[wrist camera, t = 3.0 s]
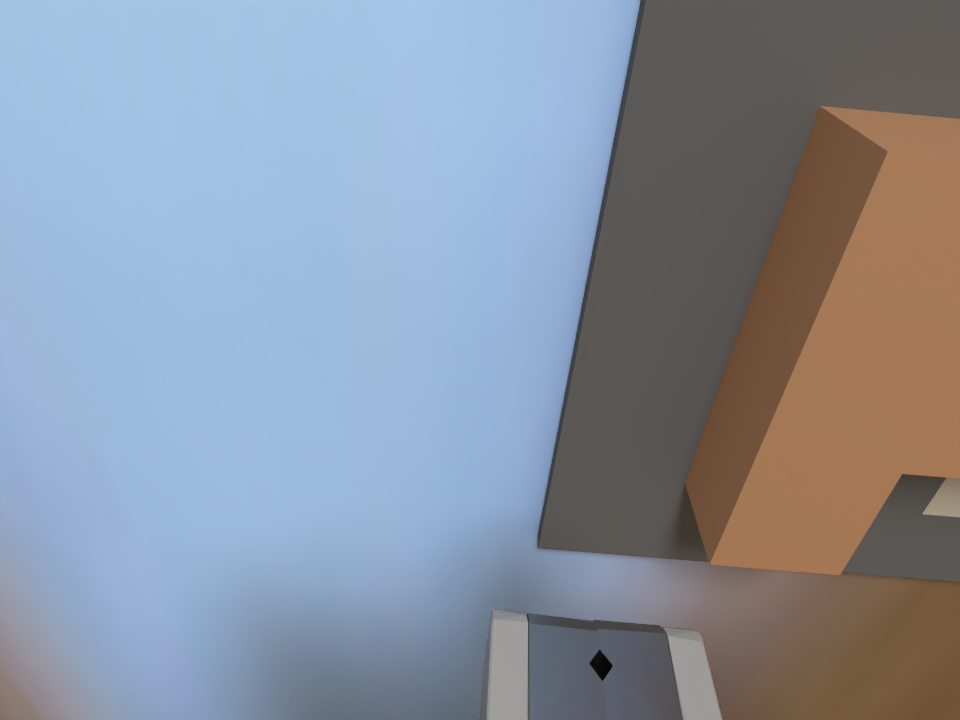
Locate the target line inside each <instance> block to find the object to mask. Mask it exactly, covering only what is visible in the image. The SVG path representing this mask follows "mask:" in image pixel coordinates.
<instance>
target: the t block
mask: <svg viewBox="0 0 960 720" xmlns="http://www.w3.org/2000/svg"><path fill="white" fill-rule="evenodd" d="M902 474H909V475H921V476H934V477H946V478H958V479H960V119H955V118H944V117H933V116H923V115H912V114H901V113H890V112H879V111H868V110H857V109H846V108H835V107H825V106H820V108H819V111H818V114H817V116H816V119H815V122H814V125H813V128H812V130H811V133H810V136H809V139H808V141H807V144H806V147H805V150H804V153H803V155H802V158H801V161H800V164H799V167H798V169H797V172H796V175H795V178H794V180H793V183H792V186H791V189H790V192H789V194H788V197H787V200H786V203H785V206H784V208H783V211H782V214H781V217H780V219H779V222H778V225H777V228H776V231H775V233H774V236H773V239H772V242H771V245H770V247H769V250H768V253H767V256H766V258H765V261H764V264H763V267H762V270H761V272H760V275H759V278H758V281H757V284H756V286H755V289H754V292H753V295H752V297H751V300H750V303H749V306H748V309H747V311H746V314H745V317H744V320H743V323H742V325H741V328H740V331H739V334H738V336H737V339H736V342H735V345H734V348H733V350H732V353H731V356H730V359H729V362H728V364H727V367H726V370H725V373H724V376H723V378H722V381H721V384H720V387H719V389H718V392H717V395H716V398H715V401H714V403H713V406H712V409H711V412H710V415H709V417H708V420H707V423H706V426H705V428H704V431H703V434H702V437H701V440H700V442H699V445H698V448H697V451H696V454H695V456H694V459H693V462H692V465H691V467H690V470H689V473H688V476H687V479H686V481H685V485H686V488H687V491H688V495H689V498H690V501H691V505H692V508H693V511H694V515H695V518H696V521H697V525H698V528H699V531H700V535H701V538H702V541H703V545H704V548H705V551H706V554H707V558H708V561H709V564H710V565H719V566H732V567H744V568H757V569H769V570H782V571H794V572H806V573H819V574H831V575H840V574H841V573H842V571H843V569H844V568H845V566H846V565H847V563H848V561H849V560H850V558H851V556H852V555H853V553H854V552H855V550H856V548H857V547H858V545H859V543H860V542H861V540H862V539H863V537H864V535H865V534H866V532H867V530H868V529H869V527H870V526H871V524H872V522H873V521H874V519H875V517H876V516H877V514H878V513H879V511H880V509H881V508H882V506H883V504H884V503H885V501H886V500H887V498H888V496H889V495H890V493H891V491H892V490H893V488H894V487H895V485H896V483H897V482H898V480H899V478H900V477H901V475H902Z"/></svg>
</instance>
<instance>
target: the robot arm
mask: <svg viewBox="0 0 960 720" xmlns="http://www.w3.org/2000/svg"><path fill="white" fill-rule="evenodd" d="M480 720H723V719H722V715H721V711H720V707H719V703H718V699H717V695H716V691H715V687H714V683H713V679H712V675H711V670H710V666H709V662H708V658H707V654H706V650H705V646H704V642H703V638H702V637H701V635H700V634H699V632H698V631H696V630H692V629H680V628H668V627H660V626H659V625H647V624H635V623H623V622H612V621H600V620H593V621H590V620H581V619H572V618H564V617H555V616H547V615H538V614H529V613H528V614H527V613H524V612H514V611H504V610H494V609H493V610H492V612H491V619H490V626H489V632H488V639H487V646H486V653H485V662H484V671H483V680H482V692H481V708H480Z"/></svg>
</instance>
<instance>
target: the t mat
mask: <svg viewBox="0 0 960 720" xmlns="http://www.w3.org/2000/svg"><path fill="white" fill-rule="evenodd" d="M820 106H825V107H835V108H846V109H857V110H868V111H879V112H890V113H901V114H912V115H923V116H933V117H944V118H955V119H960V0H641V4H640V9H639V15H638V20H637V25H636V30H635V35H634V40H633V46H632V51H631V56H630V61H629V66H628V71H627V77H626V82H625V87H624V92H623V97H622V103H621V108H620V113H619V118H618V123H617V128H616V134H615V139H614V144H613V149H612V154H611V160H610V165H609V170H608V175H607V180H606V185H605V191H604V196H603V201H602V206H601V211H600V217H599V222H598V227H597V232H596V237H595V242H594V248H593V253H592V258H591V263H590V268H589V273H588V279H587V284H586V289H585V294H584V299H583V305H582V310H581V315H580V320H579V325H578V330H577V336H576V341H575V346H574V351H573V356H572V362H571V367H570V372H569V377H568V382H567V387H566V393H565V398H564V403H563V408H562V413H561V419H560V424H559V429H558V434H557V439H556V444H555V450H554V455H553V460H552V465H551V470H550V475H549V481H548V486H547V491H546V496H545V501H544V507H543V512H542V517H541V522H540V527H539V532H538V548H543V549H555V550H568V551H580V552H592V553H605V554H617V555H630V556H642V557H655V558H667V559H680V560H692V561H704V562H709V561H708V558H707V554H706V551H705V548H704V545H703V541H702V538H701V535H700V531H699V528H698V525H697V521H696V518H695V515H694V511H693V508H692V505H691V501H690V498H689V495H688V491H687V488H686V485H685V481H686V479H687V476H688V473H689V470H690V467H691V465H692V462H693V459H694V456H695V454H696V451H697V448H698V445H699V442H700V440H701V437H702V434H703V431H704V428H705V426H706V423H707V420H708V417H709V415H710V412H711V409H712V406H713V403H714V401H715V398H716V395H717V392H718V389H719V387H720V384H721V381H722V378H723V376H724V373H725V370H726V367H727V364H728V362H729V359H730V356H731V353H732V350H733V348H734V345H735V342H736V339H737V336H738V334H739V331H740V328H741V325H742V323H743V320H744V317H745V314H746V311H747V309H748V306H749V303H750V300H751V297H752V295H753V292H754V289H755V286H756V284H757V281H758V278H759V275H760V272H761V270H762V267H763V264H764V261H765V258H766V256H767V253H768V250H769V247H770V245H771V242H772V239H773V236H774V233H775V231H776V228H777V225H778V222H779V219H780V217H781V214H782V211H783V208H784V206H785V203H786V200H787V197H788V194H789V192H790V189H791V186H792V183H793V180H794V178H795V175H796V172H797V169H798V167H799V164H800V161H801V158H802V155H803V153H804V150H805V147H806V144H807V141H808V139H809V136H810V133H811V130H812V128H813V125H814V122H815V119H816V116H817V114H818V111H819V108H820ZM842 573H854V574H866V575H879V576H891V577H904V578H916V579H929V580H941V581H953V582H960V479H958V478H946V477H934V476H921V475H909V474H902V475H901V477H900V478H899V480H898V482H897V483H896V485H895V487H894V488H893V490H892V491H891V493H890V495H889V496H888V498H887V500H886V501H885V503H884V504H883V506H882V508H881V509H880V511H879V513H878V514H877V516H876V517H875V519H874V521H873V522H872V524H871V526H870V527H869V529H868V530H867V532H866V534H865V535H864V537H863V539H862V540H861V542H860V543H859V545H858V547H857V548H856V550H855V552H854V553H853V555H852V556H851V558H850V560H849V561H848V563H847V565H846V566H845V568H844V569H843V571H842Z"/></svg>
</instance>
